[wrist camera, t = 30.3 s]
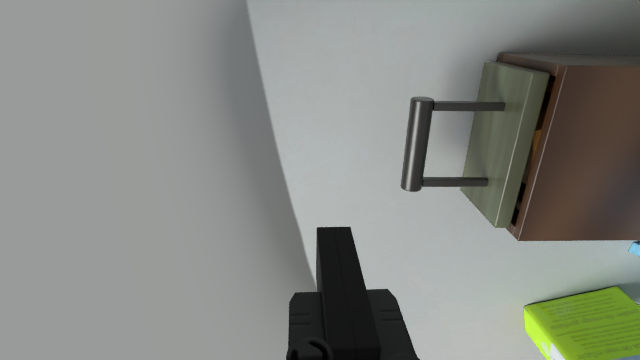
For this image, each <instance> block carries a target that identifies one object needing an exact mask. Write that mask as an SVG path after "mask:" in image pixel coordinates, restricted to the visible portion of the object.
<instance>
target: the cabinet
mask: <svg viewBox="0 0 640 360" xmlns="http://www.w3.org/2000/svg"><path fill="white" fill-rule="evenodd" d="M497 62H502V63H506V64H511V65H515V66H520V67H524V68H529V69H533V70H537V71H542V72H546V73H550V75H551V76H555V77H556V78H555V82H554V85H553V89H552V93H551V97H550V100H549V104H548V108H547V111H546V115H545V119H544V122H543V126H542V130H541V133H540V137H539V141H538V144H537V148H536V152H535V156H534V159H533V163H532V167H531V170H530V174H529V178H528V181H527V185H526V189H525V192H524V196H523V200H522V204H521V207H520V211H519V210H518V209H517V208H515V209H514V212H513V216H512V220H511V224H510V227H509V228H506V229H507V230H508V231H509V232H510V233H511V234H512V235H513V236H514V237H515V238H516V239H517V240H518V241H572V240H640V55H595V54H536V53H499V54H498V59H497Z"/></svg>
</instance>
